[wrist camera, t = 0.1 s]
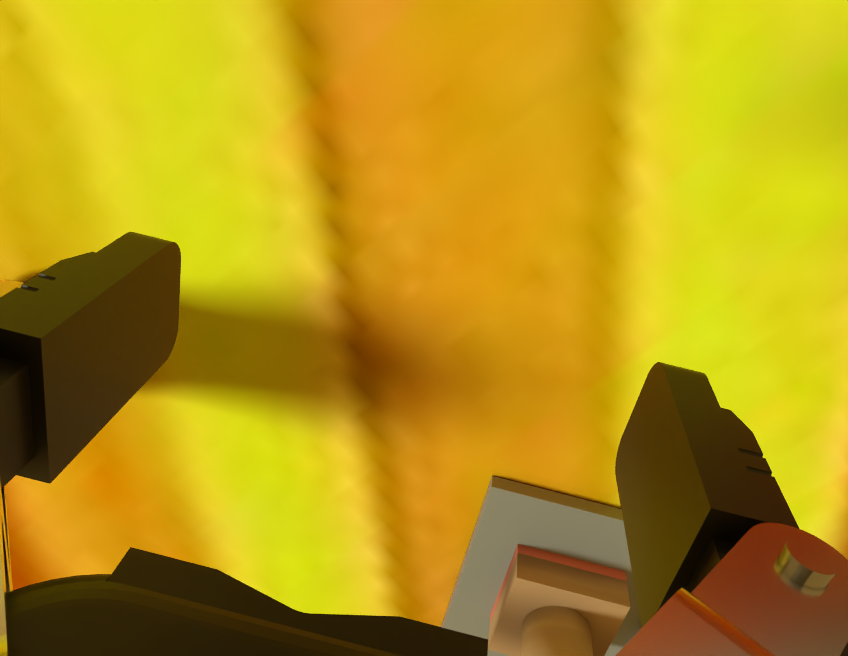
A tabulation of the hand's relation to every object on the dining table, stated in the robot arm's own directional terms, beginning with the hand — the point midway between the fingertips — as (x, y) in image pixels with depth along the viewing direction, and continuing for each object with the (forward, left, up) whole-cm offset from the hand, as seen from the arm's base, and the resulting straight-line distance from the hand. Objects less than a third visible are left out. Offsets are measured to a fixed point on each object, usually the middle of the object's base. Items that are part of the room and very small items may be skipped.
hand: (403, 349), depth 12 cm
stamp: (+23, +10, -16) cm, 30 cm away
